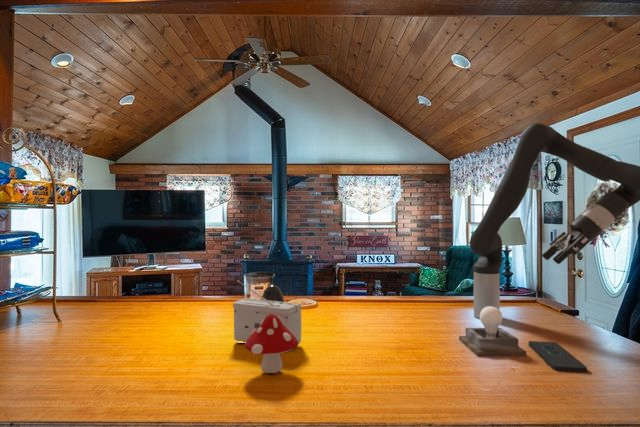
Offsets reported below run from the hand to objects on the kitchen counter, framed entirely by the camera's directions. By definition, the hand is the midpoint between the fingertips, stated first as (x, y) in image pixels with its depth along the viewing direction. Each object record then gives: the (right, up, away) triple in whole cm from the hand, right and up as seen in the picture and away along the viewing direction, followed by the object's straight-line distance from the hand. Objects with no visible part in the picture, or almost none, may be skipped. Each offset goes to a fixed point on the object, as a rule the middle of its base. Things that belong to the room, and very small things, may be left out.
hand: (549, 259), depth 120 cm
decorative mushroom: (-83, -27, -19) cm, 89 cm away
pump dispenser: (-87, -27, +19) cm, 93 cm away
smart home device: (-4, -27, -10) cm, 29 cm away
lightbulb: (-18, -25, -1) cm, 31 cm away
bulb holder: (-19, -26, -2) cm, 32 cm away
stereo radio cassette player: (-87, -27, +2) cm, 91 cm away
